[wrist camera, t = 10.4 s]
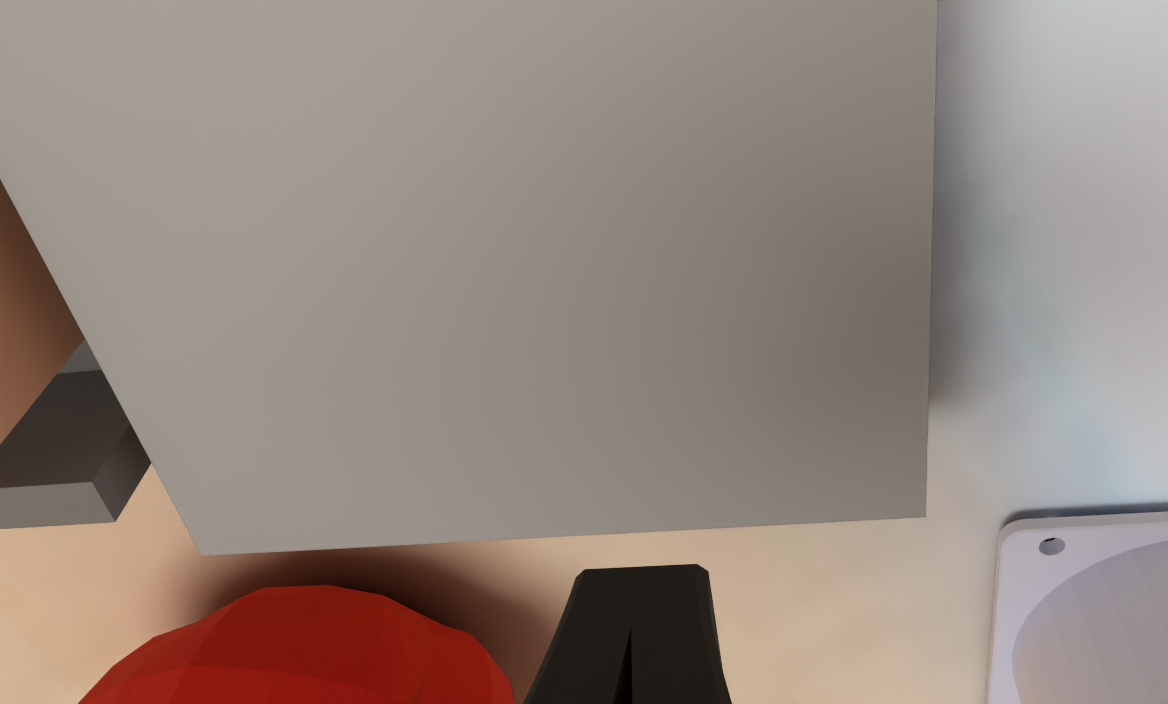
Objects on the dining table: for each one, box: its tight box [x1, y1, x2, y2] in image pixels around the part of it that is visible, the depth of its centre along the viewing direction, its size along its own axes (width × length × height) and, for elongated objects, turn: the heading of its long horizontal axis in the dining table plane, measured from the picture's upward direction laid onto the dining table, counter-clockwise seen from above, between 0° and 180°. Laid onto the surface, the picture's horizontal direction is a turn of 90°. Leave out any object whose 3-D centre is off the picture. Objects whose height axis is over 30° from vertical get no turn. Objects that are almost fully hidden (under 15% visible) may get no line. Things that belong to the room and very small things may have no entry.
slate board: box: [0, 0, 938, 556], centre depth 17 cm, size 14×14×3 cm
